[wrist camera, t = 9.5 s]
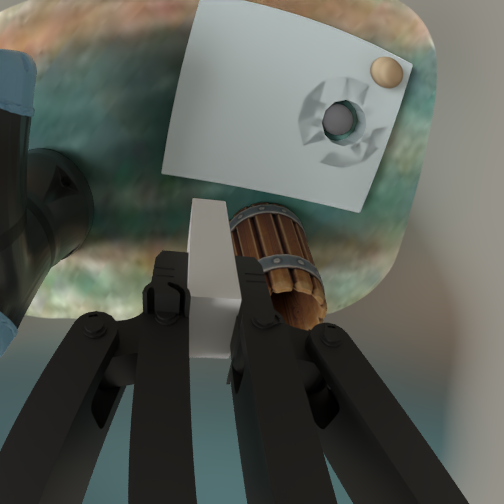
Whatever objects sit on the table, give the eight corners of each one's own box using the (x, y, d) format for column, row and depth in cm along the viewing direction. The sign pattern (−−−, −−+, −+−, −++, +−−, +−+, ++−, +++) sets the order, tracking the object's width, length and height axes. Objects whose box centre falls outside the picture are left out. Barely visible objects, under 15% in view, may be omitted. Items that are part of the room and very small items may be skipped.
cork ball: (360, 79, 29) (376, 82, 26) (369, 51, 27) (385, 51, 24) (387, 91, 29) (404, 95, 26) (396, 64, 28) (413, 65, 25)
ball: (321, 128, 34) (312, 128, 32) (330, 100, 33) (322, 97, 30) (349, 139, 34) (343, 140, 31) (359, 111, 32) (354, 109, 29)
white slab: (164, 166, 34) (161, 173, 32) (203, -2, 24) (202, -8, 22) (352, 204, 40) (359, 213, 38) (401, 63, 30) (412, 64, 28)
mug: (273, 183, 37) (306, 252, 25) (316, 242, 42) (355, 320, 30) (175, 253, 41) (164, 340, 28) (225, 299, 46) (232, 385, 34)
